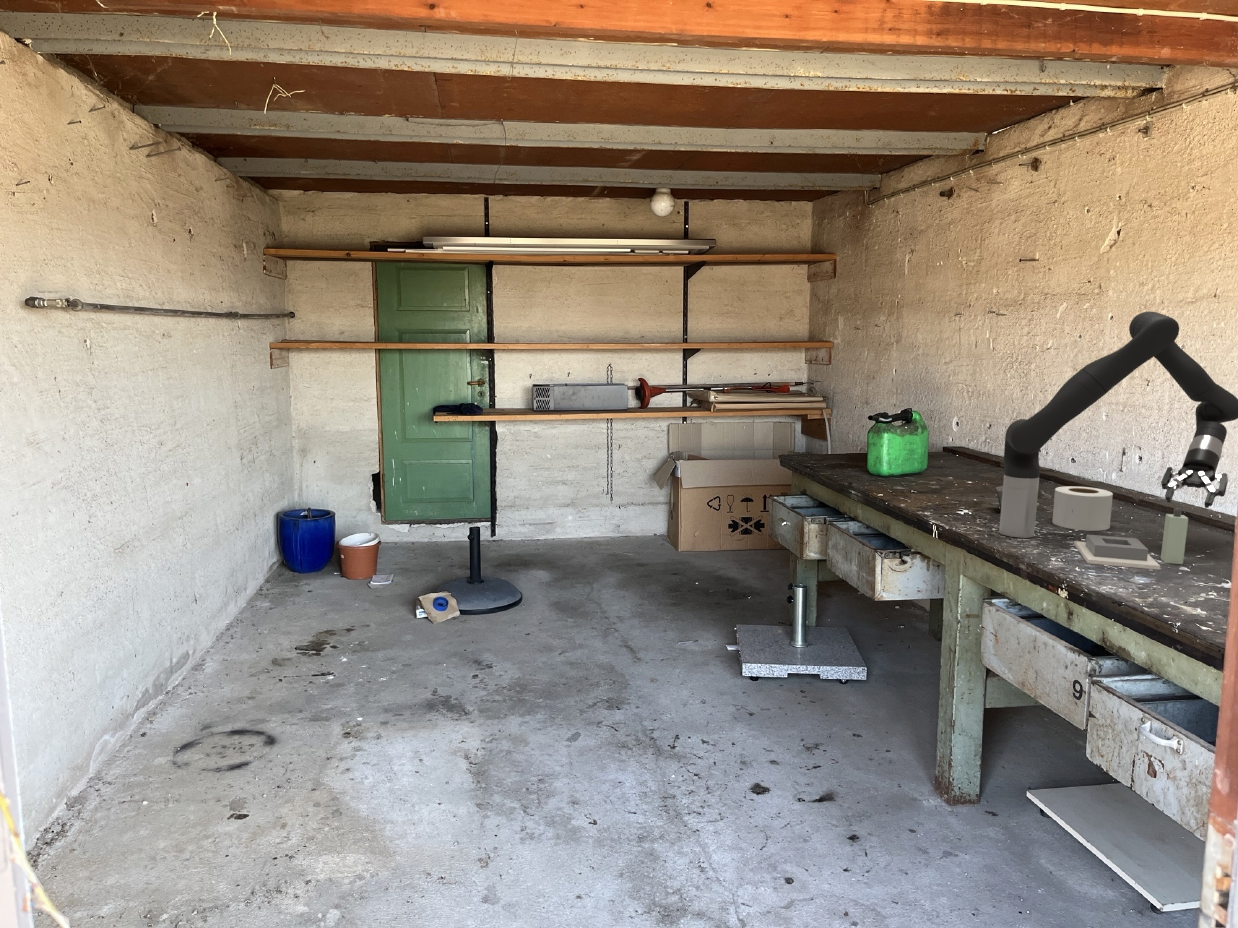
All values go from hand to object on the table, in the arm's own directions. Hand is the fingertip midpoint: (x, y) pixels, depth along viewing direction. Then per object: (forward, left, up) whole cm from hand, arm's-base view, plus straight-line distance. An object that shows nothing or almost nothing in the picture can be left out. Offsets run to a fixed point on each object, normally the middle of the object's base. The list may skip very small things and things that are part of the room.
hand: (1187, 503), depth 226 cm
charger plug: (+8, -4, -14) cm, 17 cm away
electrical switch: (-41, -39, -14) cm, 58 cm away
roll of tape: (-30, -19, -14) cm, 38 cm away
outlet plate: (+8, -17, -14) cm, 24 cm away
